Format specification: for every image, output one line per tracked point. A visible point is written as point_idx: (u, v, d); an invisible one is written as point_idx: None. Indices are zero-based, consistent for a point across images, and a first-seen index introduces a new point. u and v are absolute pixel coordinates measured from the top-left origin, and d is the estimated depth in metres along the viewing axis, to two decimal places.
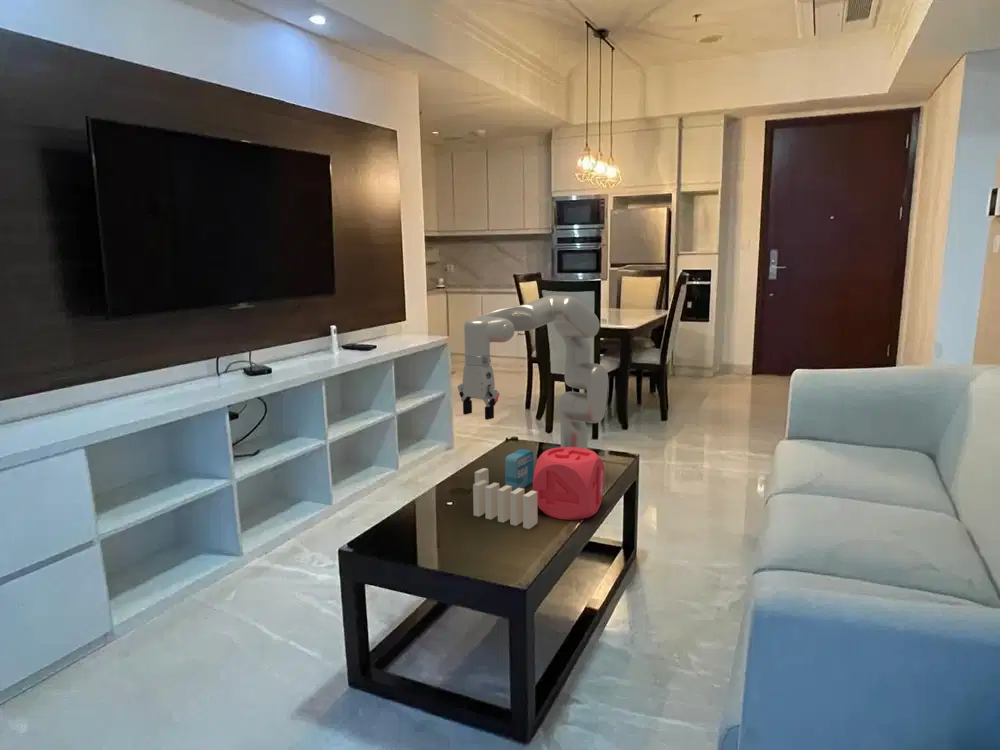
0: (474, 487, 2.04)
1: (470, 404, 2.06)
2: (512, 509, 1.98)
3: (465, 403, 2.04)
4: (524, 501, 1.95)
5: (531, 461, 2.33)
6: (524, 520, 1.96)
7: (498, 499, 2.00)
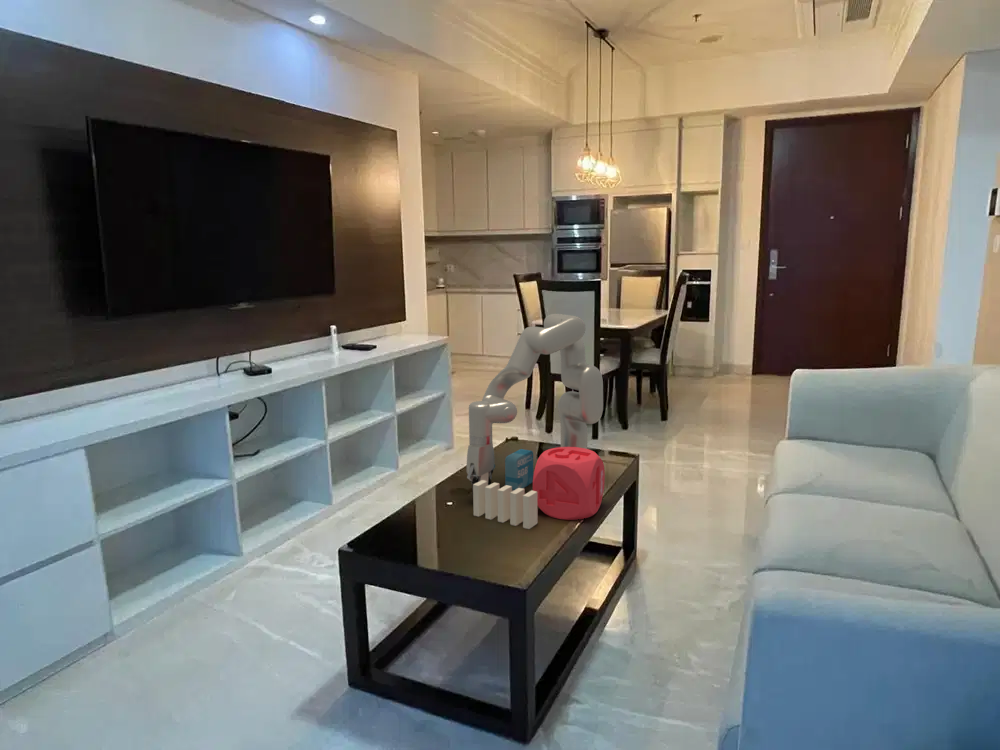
0: (474, 487, 2.04)
1: None
2: (512, 509, 1.98)
3: None
4: (524, 501, 1.95)
5: (531, 461, 2.33)
6: (524, 520, 1.96)
7: (498, 499, 2.00)
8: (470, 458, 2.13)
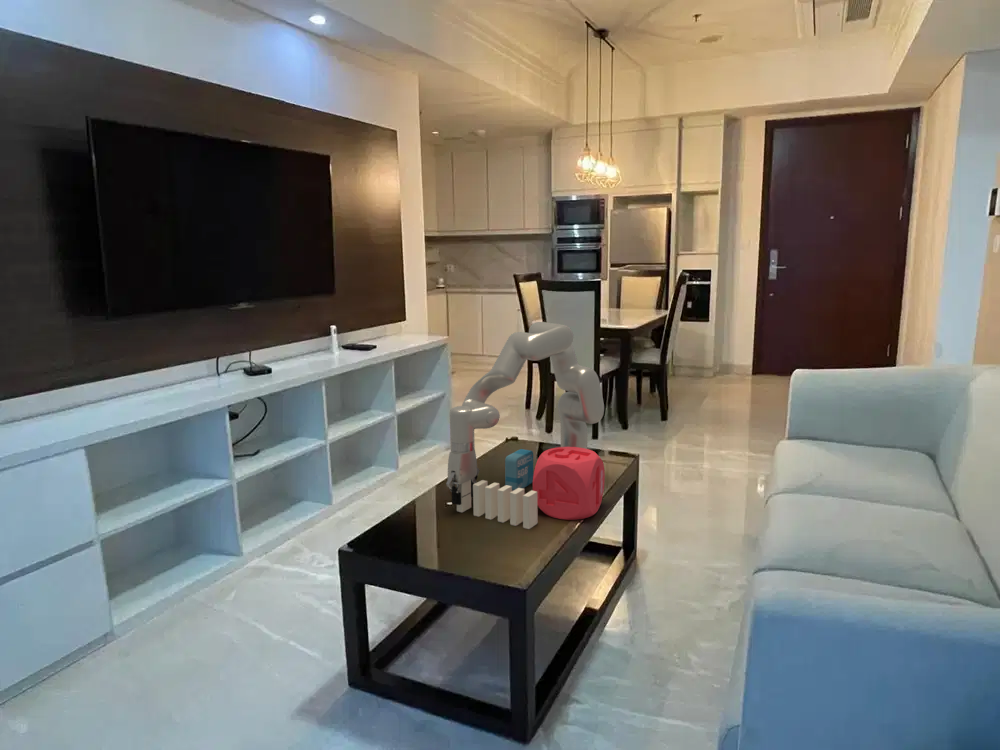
0: (474, 487, 2.04)
1: None
2: (512, 509, 1.98)
3: None
4: (524, 501, 1.95)
5: (531, 461, 2.33)
6: (524, 520, 1.96)
7: (498, 499, 2.00)
8: (451, 465, 2.05)
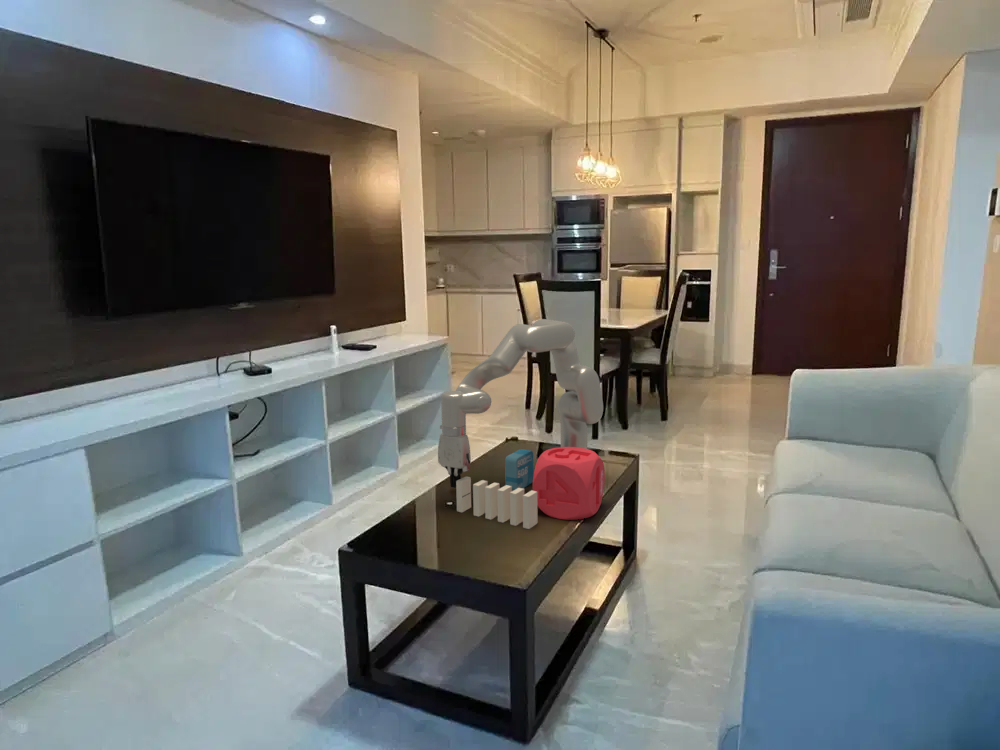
0: (474, 487, 2.04)
1: None
2: (512, 509, 1.98)
3: None
4: (524, 501, 1.95)
5: (531, 461, 2.33)
6: (524, 520, 1.96)
7: (498, 499, 2.00)
8: (465, 449, 2.06)
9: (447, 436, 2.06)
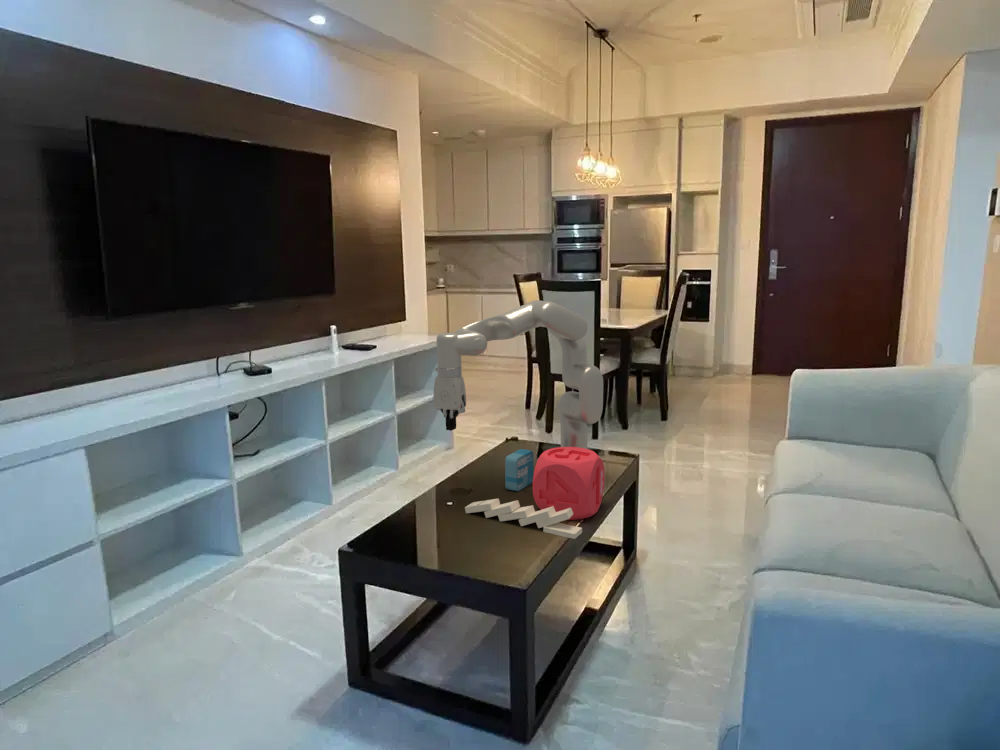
0: (508, 507, 1.99)
1: None
2: (551, 520, 1.93)
3: None
4: (569, 534, 1.89)
5: (531, 461, 2.33)
6: (550, 530, 1.92)
7: (539, 515, 1.94)
8: (461, 390, 2.05)
9: (442, 377, 2.05)
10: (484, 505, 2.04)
